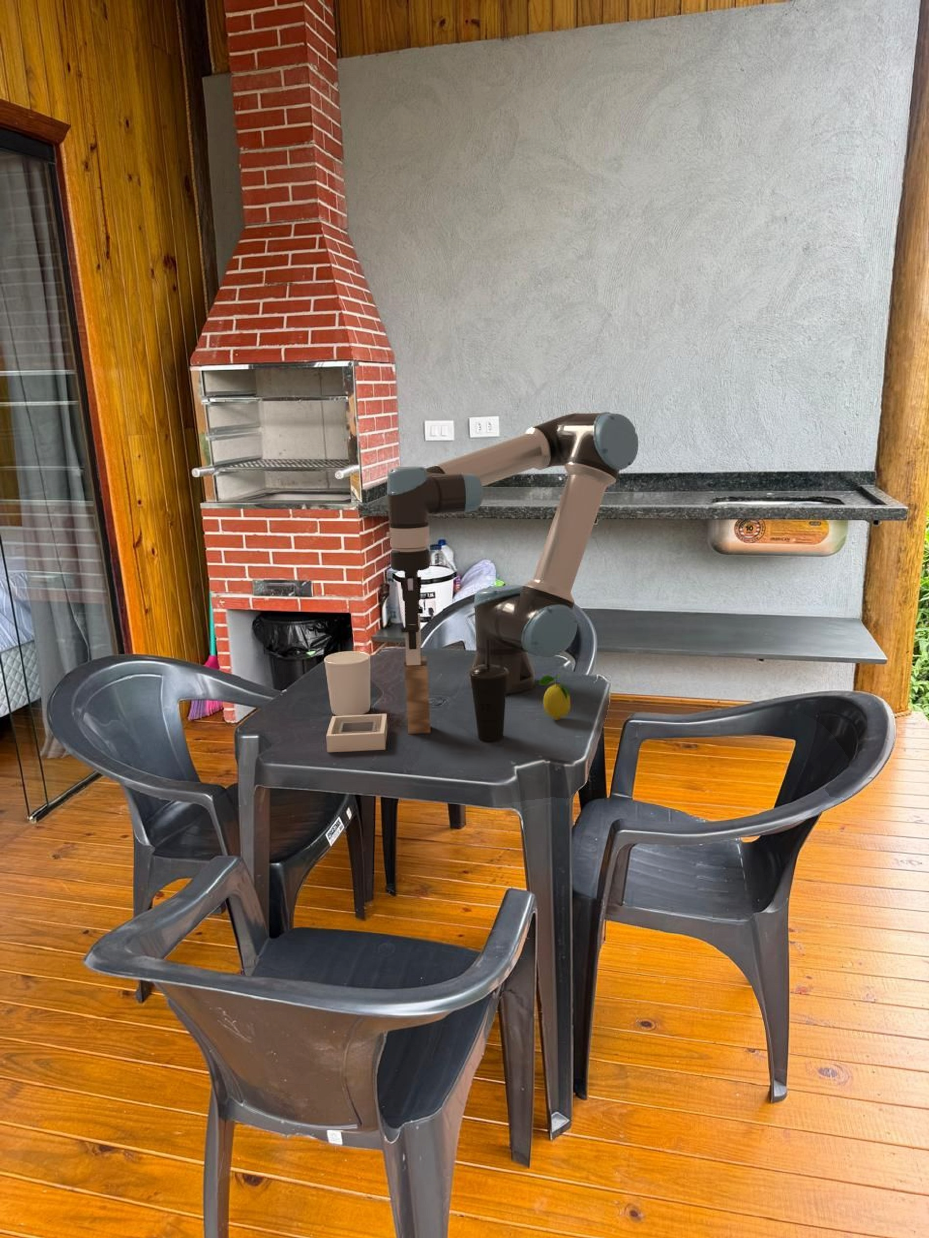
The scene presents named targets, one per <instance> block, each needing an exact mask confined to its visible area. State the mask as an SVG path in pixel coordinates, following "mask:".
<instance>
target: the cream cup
mask: <svg viewBox="0 0 929 1238" xmlns="http://www.w3.org/2000/svg"><path fill="white" fill-rule="evenodd" d="M323 661H324V666H325V674H326V681H327V683H326V684H327V688H328V696H329V701H330V702H329V703H330V709H331V713H332V715H333V716H334V715H335V716H348V715H366V714H367V713H368V712H369V711H370V709H371V655H370V654H369V653H368V652H364V651H357V650H355V651H354V650H350V651H348V650H347V651H338V652H334V653H330V654H328V655H326V656H325V657H324V659H323Z"/></svg>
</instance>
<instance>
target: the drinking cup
mask: <svg viewBox="0 0 929 1238" xmlns="http://www.w3.org/2000/svg"><path fill="white" fill-rule="evenodd" d="M486 663H487V664H482V665H479V666H477V667H474V668H472V667H471V668H470V669H469V671H468V675H469V678H470V677H471V684H472V688H471V690H472V698H473V707H474V713H475V722H476V728H477V734H478V735H477V737H478V739H479V741H482V742H486V743H494V742H499V741H502V740H503V738H504V729H505V728H504V727H505V726H504V725H505V714H506V713H505V712H506V696H507V694H506V683H507V675H508V669H507V668H505V667H502V666H499V665H496V664H490V646H489V639H486Z"/></svg>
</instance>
